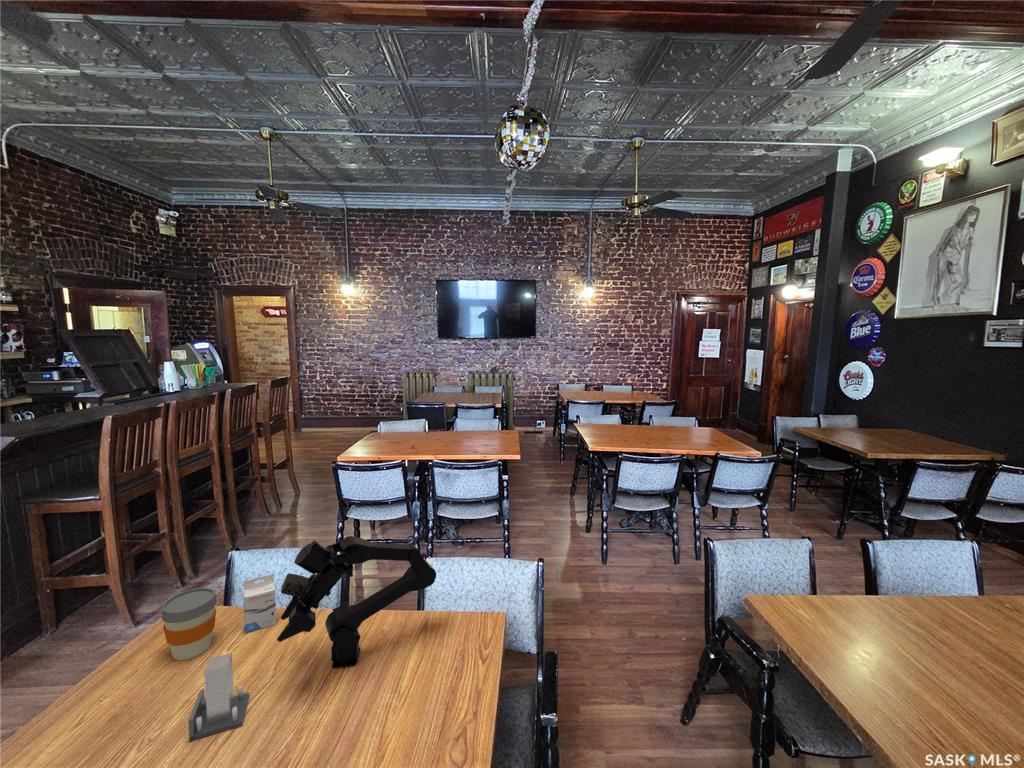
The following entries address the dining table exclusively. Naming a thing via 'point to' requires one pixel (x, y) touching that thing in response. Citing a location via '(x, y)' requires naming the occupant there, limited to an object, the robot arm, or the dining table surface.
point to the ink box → (259, 603)
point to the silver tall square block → (219, 688)
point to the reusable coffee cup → (189, 622)
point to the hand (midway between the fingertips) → (280, 629)
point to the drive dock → (202, 729)
